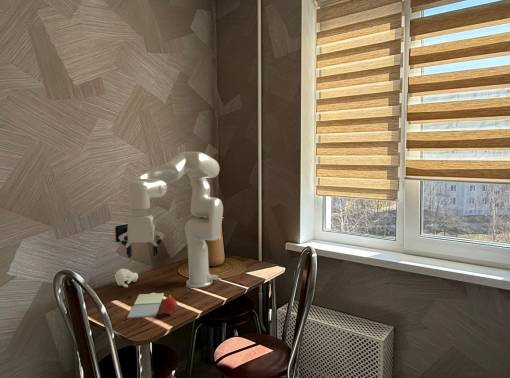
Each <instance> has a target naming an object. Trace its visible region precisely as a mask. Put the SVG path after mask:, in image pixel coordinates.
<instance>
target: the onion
mask: <svg viewBox="0 0 510 378" xmlns="http://www.w3.org/2000/svg"><path fill="white" fill-rule="evenodd" d="M161 306H162V307H161V308H162V310H163V312H165V314H168V315H170V316H171V315H173V313H174V312H175V311H176V310H177V308H178V302H177V301H176V299H175V298H173V297H172V296H171V294H169V295H168V296H167V297H166V298H165V299H163V301H162V304H161Z"/></svg>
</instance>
